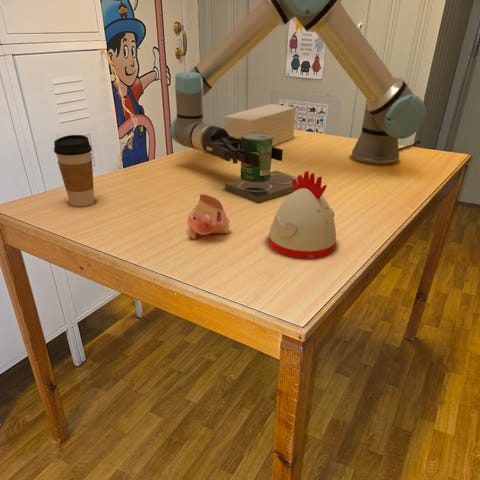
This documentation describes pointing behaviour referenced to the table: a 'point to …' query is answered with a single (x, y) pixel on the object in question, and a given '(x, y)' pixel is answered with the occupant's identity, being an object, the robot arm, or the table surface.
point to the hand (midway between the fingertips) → (269, 158)
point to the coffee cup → (76, 168)
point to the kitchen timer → (304, 222)
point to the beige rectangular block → (263, 122)
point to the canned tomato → (263, 148)
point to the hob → (264, 187)
